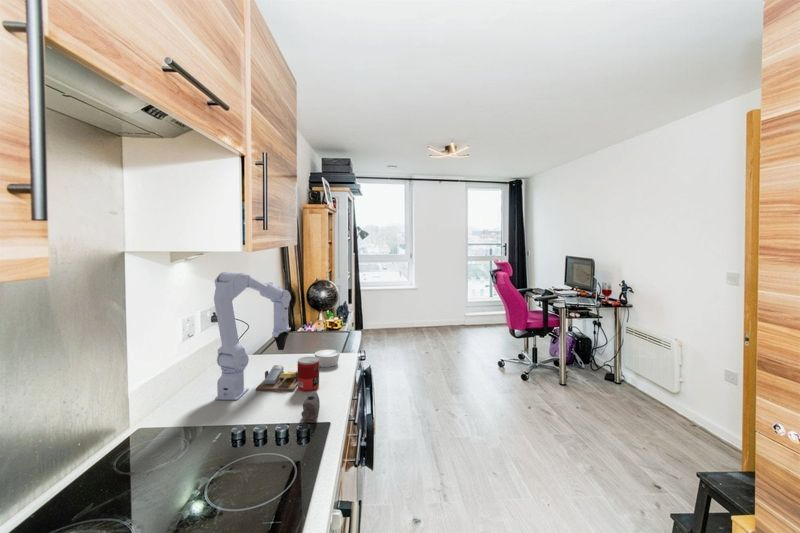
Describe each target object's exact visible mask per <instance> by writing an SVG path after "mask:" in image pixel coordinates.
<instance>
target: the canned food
mask: <svg viewBox="0 0 800 533" xmlns="http://www.w3.org/2000/svg"><path fill="white" fill-rule="evenodd" d="M297 371H298V386H297V389H298V390H299V391H301V392H309V393H310V392H315V391H316V390H318V388H319V387H320V366H319V358H317V357H315V356H303V357H299V358H298V359H297Z"/></svg>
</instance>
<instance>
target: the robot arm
mask: <svg viewBox="0 0 800 533" xmlns="http://www.w3.org/2000/svg"><path fill="white" fill-rule="evenodd" d="M214 286H215V290H214V293H213V294H214V296H213V302H214V309H215V314H216V318H217V325H218V332H219V336H220V341H221V346H220V347H219V348H218V349H217V358H216V363H217V365H218V366H219V367H220V371H221V375H220V377H219V378H218V380H217V383H216V384H217V386H216V388H217V395H216V397H215V398H214V400H217V401H218V400H223V401H225V400H227V401H237V400H239V399H240V398H241V397H243V395H244V394H245V393H246V392H248V391H249V387H245V370H246V368H247V366H248V364H249V355H248V354H247V352H246V348H245V347H244V346H243V345H242V344H241V343H240V341H239V335H238V329H237V323H236V318H235V317H236V316H235V311H234V306H233V301H234V299H235V298H236V297H238V296H239V295H240V294H241V293H242V292H244V291H245V290H246V289H247V288H249V289H253V290H255V291H256V292H257V291H258V292H259V294H260V296H261V297H264V298H266V299H268V300H270V301H271V303H273V329H272V330H273V332H272V338H273V339H274V341H275V343H276V346H277V350H278V351H284V350H285V347H286V342H287V339H288V336H289V334H290V331H291V329H292V328H291V327H290V326H289V307H290V302H291V299H292V295H291V292H290V291H289V290H287V289H282V287H280V286H277V285H274V283H273V282H271V281H269V282H264V283H263V282H261V281H260V280H258V279H255V278H254V277H252V276H251V275H250V274H246V273H243V272H239V273H238V272H227V271H223V272H220V273H219V274H218V275H217V276H216V278H215V279H214Z"/></svg>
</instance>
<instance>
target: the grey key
mask: <svg viewBox="0 0 800 533" xmlns="http://www.w3.org/2000/svg"><path fill="white" fill-rule="evenodd" d="M281 371H284V366H283V365H282V364H280V365H277V364H276V365H275V364H274V365H273V366H272V368H271V369H270V371H268V375H267V377H266V378H265V377H264V380H263V381H264V382H265V384H275V383H276V381H277V380H278V378H279V376H280V372H281Z"/></svg>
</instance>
